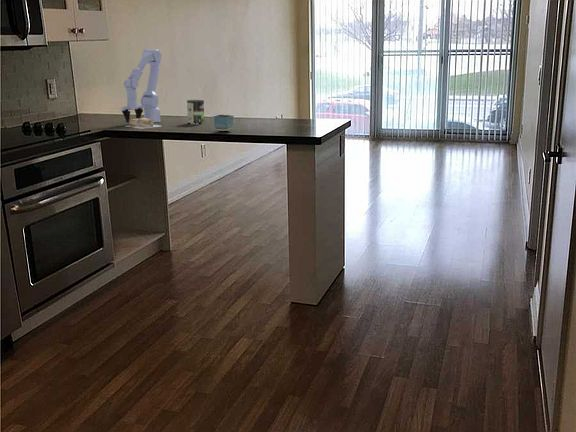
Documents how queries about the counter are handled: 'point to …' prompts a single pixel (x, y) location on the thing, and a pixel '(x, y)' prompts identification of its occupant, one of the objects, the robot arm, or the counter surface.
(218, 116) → the flower pot
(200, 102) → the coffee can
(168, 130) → the counter surface
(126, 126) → the mat
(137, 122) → the t block
